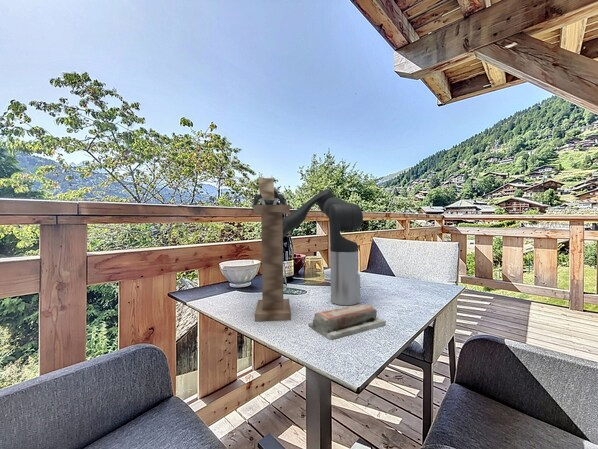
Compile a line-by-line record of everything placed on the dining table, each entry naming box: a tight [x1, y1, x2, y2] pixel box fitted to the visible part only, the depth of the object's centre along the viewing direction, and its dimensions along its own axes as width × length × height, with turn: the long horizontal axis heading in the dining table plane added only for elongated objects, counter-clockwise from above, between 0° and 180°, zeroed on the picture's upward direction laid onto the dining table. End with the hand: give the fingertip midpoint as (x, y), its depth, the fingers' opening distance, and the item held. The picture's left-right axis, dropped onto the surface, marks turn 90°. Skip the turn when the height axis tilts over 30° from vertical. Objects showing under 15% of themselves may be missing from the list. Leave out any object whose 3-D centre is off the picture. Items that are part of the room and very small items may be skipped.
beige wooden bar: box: [258, 177, 275, 200], centre depth 89 cm, size 4×24×4 cm, turn 4°
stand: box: [252, 204, 292, 322], centre depth 80 cm, size 10×14×32 cm
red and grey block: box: [308, 304, 387, 341], centre depth 69 cm, size 18×5×10 cm
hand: (268, 189), depth 96 cm, fingers closed on beige wooden bar, 4 cm apart
